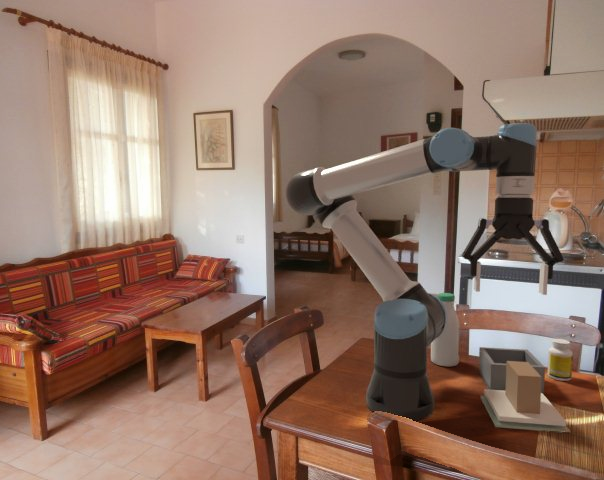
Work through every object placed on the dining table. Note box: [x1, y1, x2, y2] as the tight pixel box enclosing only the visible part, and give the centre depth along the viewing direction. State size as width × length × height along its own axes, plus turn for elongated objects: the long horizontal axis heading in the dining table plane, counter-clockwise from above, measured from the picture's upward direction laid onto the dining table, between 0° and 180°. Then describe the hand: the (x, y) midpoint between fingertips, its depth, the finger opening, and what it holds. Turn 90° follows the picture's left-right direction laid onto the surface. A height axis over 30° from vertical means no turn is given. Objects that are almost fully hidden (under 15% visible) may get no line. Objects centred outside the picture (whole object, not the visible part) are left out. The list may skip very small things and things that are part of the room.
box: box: [478, 346, 546, 396], centre depth 106 cm, size 12×12×7 cm
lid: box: [483, 361, 567, 426], centre depth 91 cm, size 13×13×10 cm
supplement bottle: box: [547, 338, 574, 382], centre depth 110 cm, size 5×5×10 cm
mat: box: [480, 395, 571, 432], centre depth 91 cm, size 14×13×1 cm
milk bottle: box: [430, 292, 461, 368], centre depth 120 cm, size 8×8×20 cm
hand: (509, 292), depth 94 cm, fingers open, 13 cm apart
